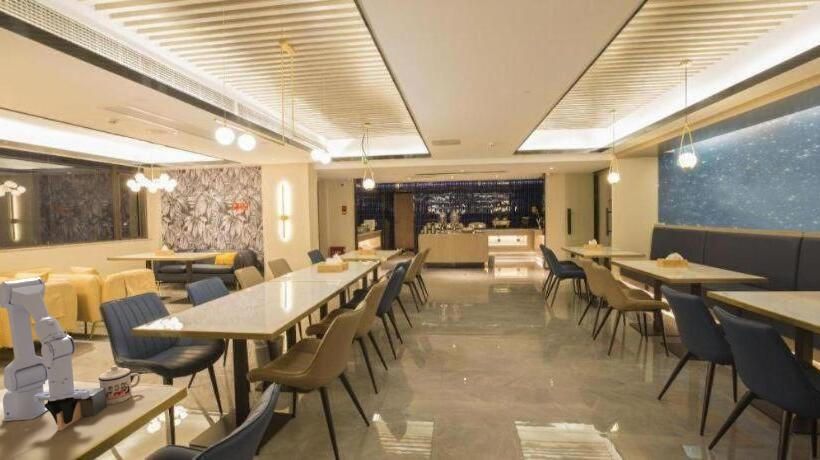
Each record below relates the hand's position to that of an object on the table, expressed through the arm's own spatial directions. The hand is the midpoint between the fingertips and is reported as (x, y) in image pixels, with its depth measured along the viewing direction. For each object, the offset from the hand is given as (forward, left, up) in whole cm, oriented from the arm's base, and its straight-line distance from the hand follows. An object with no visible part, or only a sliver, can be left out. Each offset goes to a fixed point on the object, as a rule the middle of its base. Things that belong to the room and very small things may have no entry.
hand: (64, 422), depth 126 cm
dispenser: (0, +9, -1) cm, 9 cm away
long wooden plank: (0, +4, -1) cm, 4 cm away
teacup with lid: (+5, +19, -2) cm, 20 cm away
